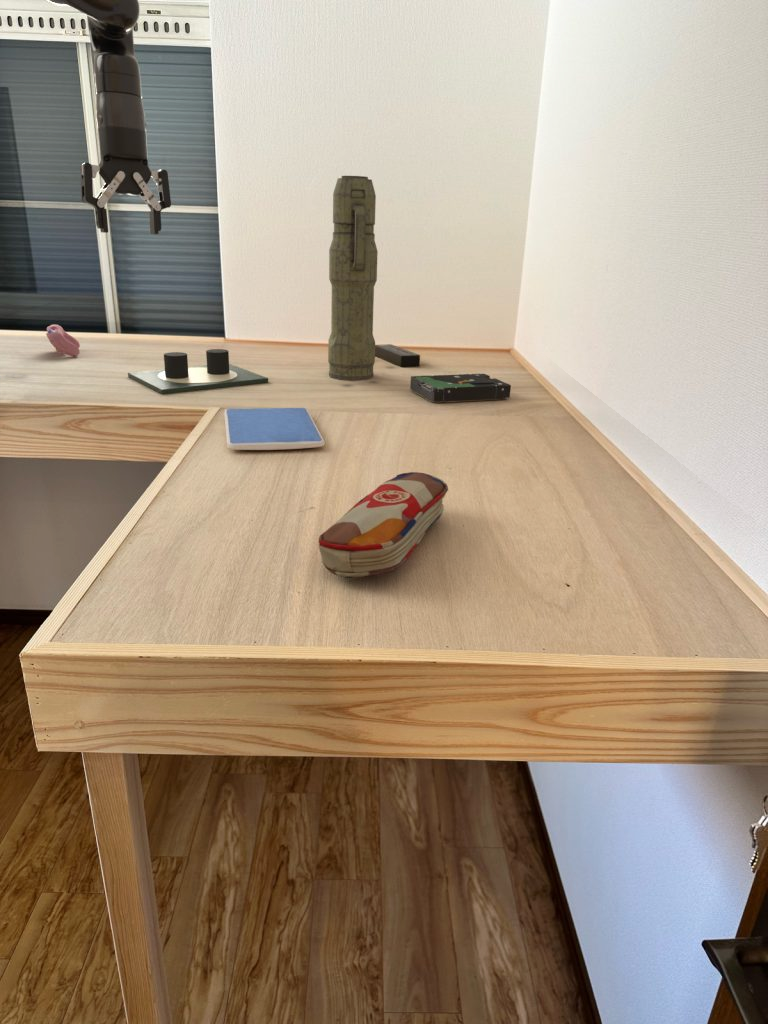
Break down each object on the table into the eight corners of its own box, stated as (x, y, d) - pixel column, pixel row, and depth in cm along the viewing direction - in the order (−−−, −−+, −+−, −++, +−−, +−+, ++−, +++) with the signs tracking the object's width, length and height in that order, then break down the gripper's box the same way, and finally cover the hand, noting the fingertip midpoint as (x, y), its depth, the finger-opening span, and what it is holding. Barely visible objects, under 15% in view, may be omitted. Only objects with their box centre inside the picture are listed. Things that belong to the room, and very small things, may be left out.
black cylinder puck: (213, 375, 132) (211, 353, 130) (203, 371, 135) (202, 349, 133) (233, 373, 134) (232, 351, 132) (223, 369, 137) (222, 348, 135)
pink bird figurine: (62, 356, 156) (42, 326, 153) (81, 346, 157) (62, 316, 153) (61, 364, 148) (39, 333, 144) (81, 354, 148) (60, 323, 145)
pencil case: (275, 563, 63) (274, 510, 61) (397, 500, 79) (399, 456, 77) (379, 601, 58) (381, 543, 56) (489, 525, 73) (494, 478, 71)
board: (161, 394, 121) (161, 388, 120) (128, 376, 132) (127, 372, 132) (268, 382, 132) (268, 377, 132) (228, 367, 144) (228, 362, 143)
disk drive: (482, 388, 135) (408, 390, 130) (483, 373, 134) (409, 374, 129) (510, 400, 126) (433, 404, 121) (512, 384, 125) (434, 387, 120)
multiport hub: (401, 367, 150) (401, 355, 150) (372, 355, 162) (373, 344, 162) (420, 366, 152) (420, 355, 151) (390, 354, 164) (391, 344, 163)
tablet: (224, 415, 109) (223, 407, 109) (307, 414, 112) (307, 405, 111) (227, 454, 92) (226, 444, 91) (326, 451, 94) (326, 441, 94)
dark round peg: (170, 379, 127) (169, 356, 126) (161, 375, 130) (160, 353, 128) (192, 377, 129) (190, 354, 128) (183, 373, 132) (181, 351, 131)
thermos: (338, 382, 134) (341, 173, 121) (320, 370, 144) (321, 176, 131) (383, 380, 137) (390, 176, 124) (362, 369, 147) (367, 179, 134)
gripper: (156, 134, 126) (163, 234, 131) (70, 124, 118) (80, 231, 123) (172, 130, 120) (178, 235, 126) (82, 119, 112) (92, 232, 118)
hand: (129, 233), depth 125 cm, fingers open, 8 cm apart
